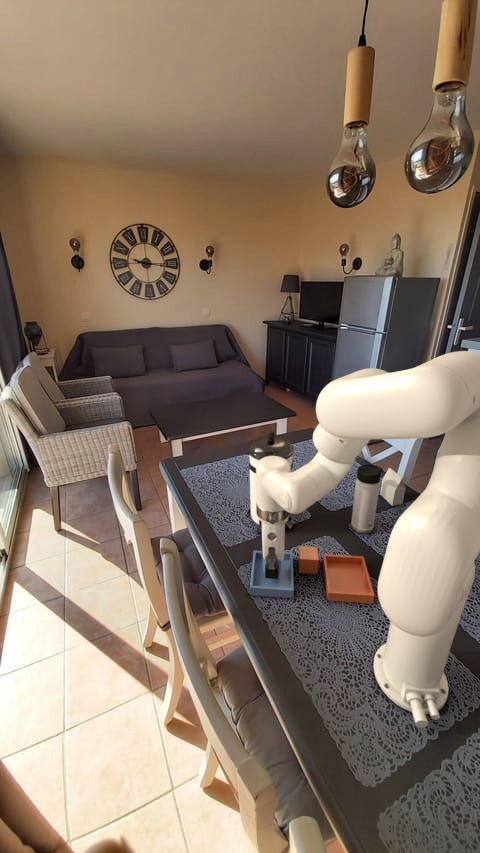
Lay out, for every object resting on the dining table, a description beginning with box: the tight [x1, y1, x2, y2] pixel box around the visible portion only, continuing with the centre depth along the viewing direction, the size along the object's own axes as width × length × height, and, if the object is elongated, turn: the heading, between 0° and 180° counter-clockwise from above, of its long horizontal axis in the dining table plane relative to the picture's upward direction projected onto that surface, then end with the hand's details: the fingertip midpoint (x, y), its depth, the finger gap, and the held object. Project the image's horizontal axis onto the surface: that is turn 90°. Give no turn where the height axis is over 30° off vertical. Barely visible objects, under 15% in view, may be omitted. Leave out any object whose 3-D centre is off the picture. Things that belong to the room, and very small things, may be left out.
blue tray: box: [249, 550, 295, 599], centre depth 90 cm, size 12×10×2 cm
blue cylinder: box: [263, 553, 281, 574], centre depth 88 cm, size 4×4×5 cm
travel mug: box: [350, 463, 384, 534], centre depth 102 cm, size 6×7×20 cm
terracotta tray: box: [321, 553, 375, 605], centre depth 88 cm, size 12×10×2 cm
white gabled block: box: [379, 467, 406, 507], centre depth 117 cm, size 4×7×10 cm, turn 13°
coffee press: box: [247, 430, 295, 536], centre depth 105 cm, size 17×16×30 cm
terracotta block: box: [297, 545, 320, 575], centre depth 92 cm, size 5×5×5 cm
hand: (272, 568), depth 89 cm, fingers closed on blue cylinder, 4 cm apart
